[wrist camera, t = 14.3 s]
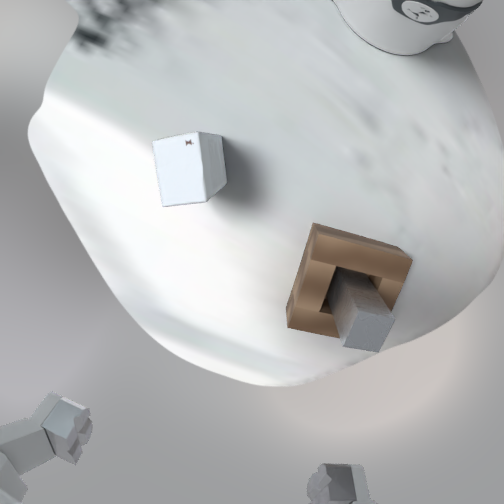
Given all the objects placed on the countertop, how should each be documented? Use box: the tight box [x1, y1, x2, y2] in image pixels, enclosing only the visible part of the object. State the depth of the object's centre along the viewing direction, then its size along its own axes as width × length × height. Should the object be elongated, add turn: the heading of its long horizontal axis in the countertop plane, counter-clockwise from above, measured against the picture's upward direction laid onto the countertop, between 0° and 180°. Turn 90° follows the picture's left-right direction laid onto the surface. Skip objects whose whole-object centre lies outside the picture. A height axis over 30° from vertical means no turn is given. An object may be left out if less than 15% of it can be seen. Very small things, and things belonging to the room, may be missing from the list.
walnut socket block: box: [286, 223, 413, 338], centre depth 37 cm, size 12×12×5 cm
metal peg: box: [326, 266, 395, 352], centre depth 33 cm, size 4×4×12 cm
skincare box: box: [152, 131, 227, 207], centre depth 30 cm, size 6×4×12 cm
